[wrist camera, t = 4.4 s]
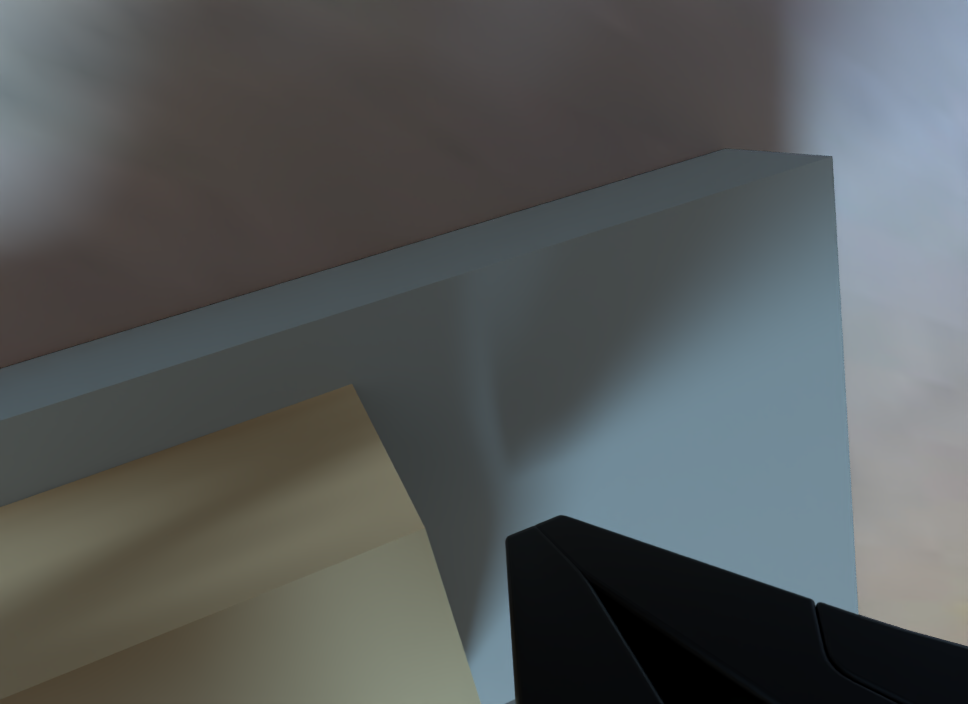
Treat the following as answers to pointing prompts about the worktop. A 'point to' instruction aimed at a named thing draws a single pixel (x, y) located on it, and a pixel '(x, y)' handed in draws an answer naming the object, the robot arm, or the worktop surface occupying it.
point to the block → (232, 576)
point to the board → (530, 381)
